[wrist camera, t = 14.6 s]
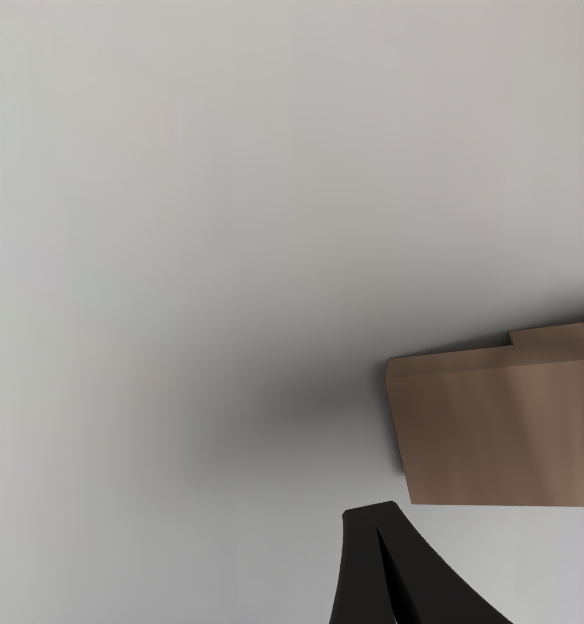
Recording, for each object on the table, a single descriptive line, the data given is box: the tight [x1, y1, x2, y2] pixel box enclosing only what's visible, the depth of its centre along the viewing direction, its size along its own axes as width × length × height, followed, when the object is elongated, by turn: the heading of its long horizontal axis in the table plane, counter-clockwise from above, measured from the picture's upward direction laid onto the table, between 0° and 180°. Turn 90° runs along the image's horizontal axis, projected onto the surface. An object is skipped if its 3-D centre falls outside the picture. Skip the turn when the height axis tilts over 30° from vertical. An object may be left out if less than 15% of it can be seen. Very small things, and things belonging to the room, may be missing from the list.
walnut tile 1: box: [384, 337, 584, 507], centre depth 14 cm, size 2×5×8 cm
